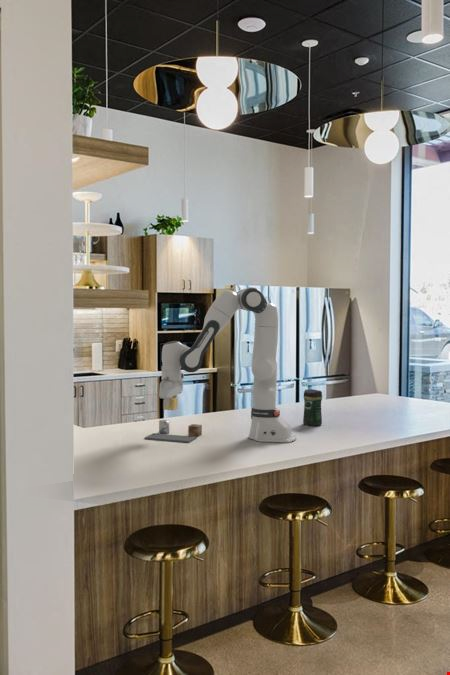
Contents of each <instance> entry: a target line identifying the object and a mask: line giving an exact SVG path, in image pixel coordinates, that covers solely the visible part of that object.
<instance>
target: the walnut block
mask: <svg viewBox="0 0 450 675" xmlns="http://www.w3.org/2000/svg"><path fill="white" fill-rule="evenodd" d="M187 427H188V428H187V429H188V431H187V433H188V435H187V436H193V437H197V438H199V437H201V436H202V434H203V432H202V431H203V430H202V429H203V428H202V427H203V426H202V424H195V423H192V424H190V425H188V426H187Z"/></svg>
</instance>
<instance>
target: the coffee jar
mask: <svg viewBox="0 0 450 675" xmlns="http://www.w3.org/2000/svg"><path fill="white" fill-rule="evenodd" d="M303 400H304V406H303V416H302V417H303V419H302V421H303V422H302V423H303V424H304V425H306V424H307V425H306V426H311V425H313V427H314V426H316V425H319V426H321V425H322V424H323V419H322V418H323V415H322V400H323V391H322V390H318V389H305V390H304V391H303Z"/></svg>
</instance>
